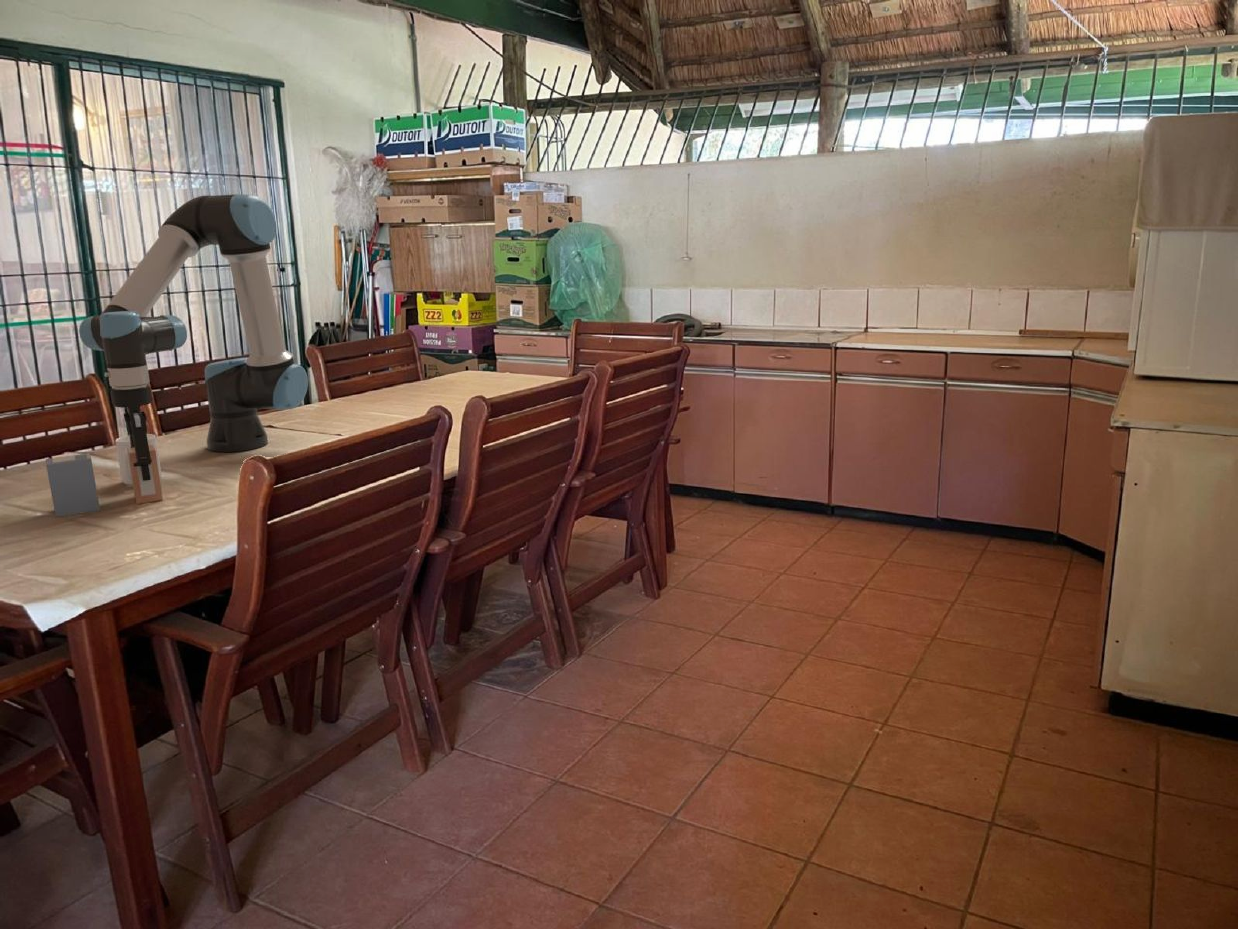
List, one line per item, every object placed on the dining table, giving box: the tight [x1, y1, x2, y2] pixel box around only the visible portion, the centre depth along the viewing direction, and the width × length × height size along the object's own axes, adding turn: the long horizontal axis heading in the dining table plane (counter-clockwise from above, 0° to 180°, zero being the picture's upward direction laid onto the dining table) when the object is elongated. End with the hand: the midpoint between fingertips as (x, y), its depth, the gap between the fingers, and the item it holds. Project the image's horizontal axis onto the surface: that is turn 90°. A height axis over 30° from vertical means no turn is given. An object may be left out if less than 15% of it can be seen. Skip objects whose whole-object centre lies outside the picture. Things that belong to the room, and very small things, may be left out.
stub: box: [127, 445, 164, 505], centre depth 199 cm, size 5×6×11 cm
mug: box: [114, 433, 162, 486], centre depth 212 cm, size 12×8×10 cm
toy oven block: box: [45, 452, 101, 518], centre depth 192 cm, size 8×6×11 cm
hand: (146, 489), depth 199 cm, fingers open, 9 cm apart
